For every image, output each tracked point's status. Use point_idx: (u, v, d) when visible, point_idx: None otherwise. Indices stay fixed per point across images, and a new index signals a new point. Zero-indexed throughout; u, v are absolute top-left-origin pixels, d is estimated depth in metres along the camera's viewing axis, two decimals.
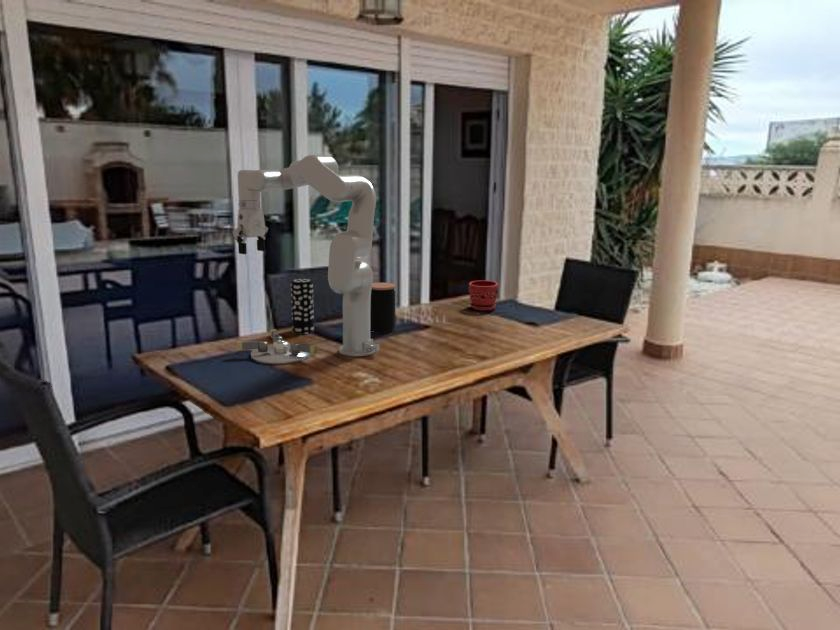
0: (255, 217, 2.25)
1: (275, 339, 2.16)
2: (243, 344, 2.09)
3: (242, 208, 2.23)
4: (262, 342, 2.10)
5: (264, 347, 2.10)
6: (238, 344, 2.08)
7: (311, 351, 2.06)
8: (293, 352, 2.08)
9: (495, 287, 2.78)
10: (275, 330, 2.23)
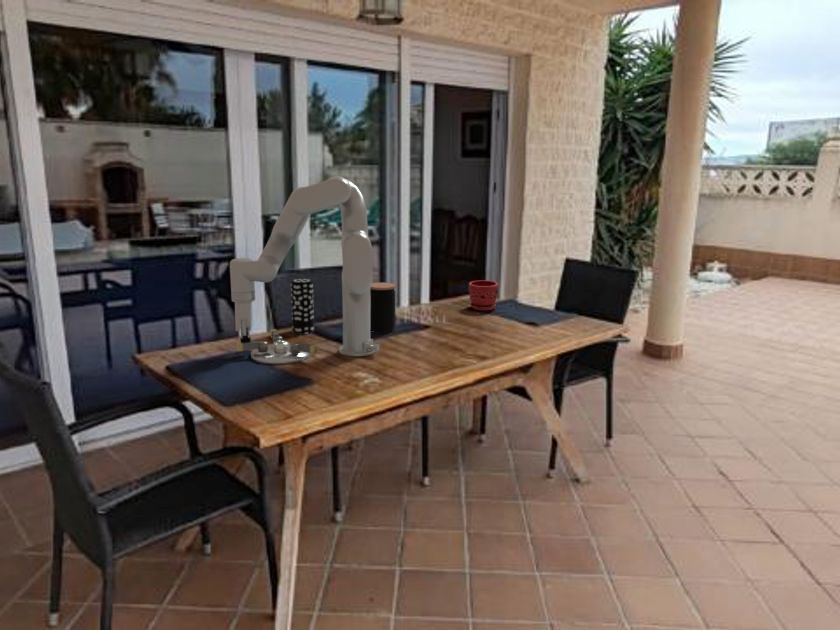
0: None
1: (275, 339, 2.16)
2: (243, 345, 2.08)
3: None
4: (262, 342, 2.10)
5: (265, 347, 2.10)
6: (239, 345, 2.07)
7: (311, 351, 2.06)
8: (293, 352, 2.08)
9: (495, 287, 2.78)
10: (275, 330, 2.23)
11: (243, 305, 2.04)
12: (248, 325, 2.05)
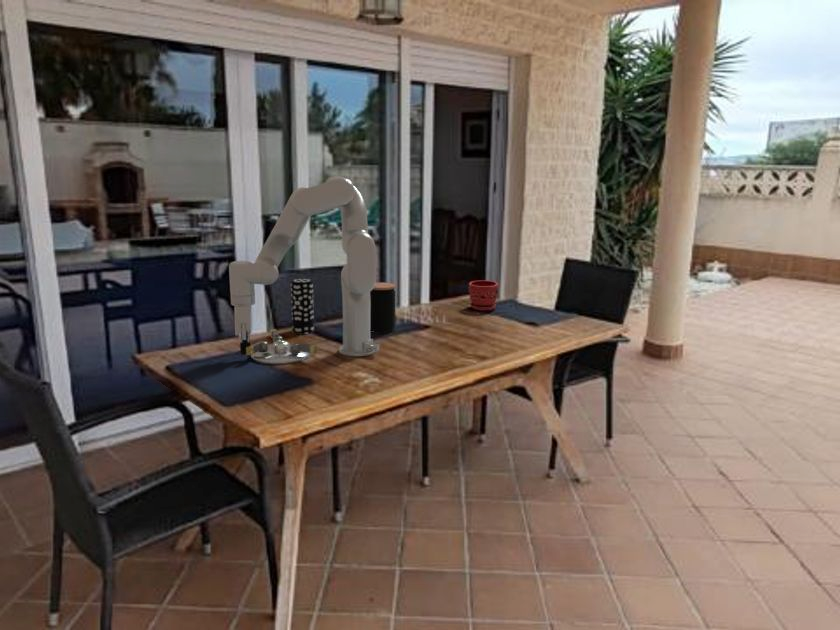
0: None
1: (275, 339, 2.16)
2: (253, 348, 2.05)
3: None
4: (263, 342, 2.10)
5: (267, 346, 2.11)
6: (251, 349, 2.03)
7: (311, 351, 2.06)
8: (293, 352, 2.08)
9: (495, 287, 2.78)
10: (275, 330, 2.23)
11: (243, 309, 1.99)
12: (248, 329, 2.00)
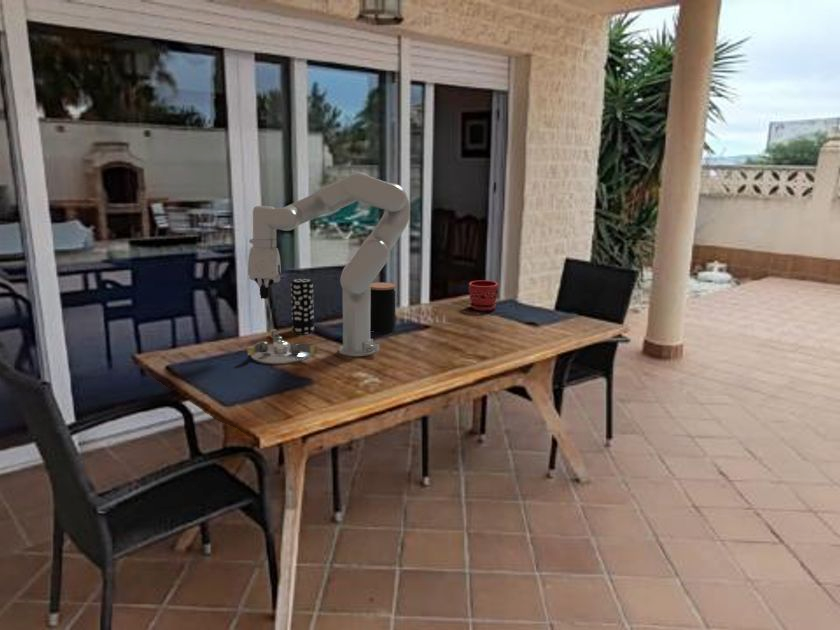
0: (259, 257, 2.06)
1: (275, 339, 2.16)
2: (254, 348, 2.05)
3: None
4: (263, 342, 2.10)
5: (267, 346, 2.11)
6: (253, 349, 2.03)
7: (311, 351, 2.06)
8: (293, 352, 2.08)
9: (495, 287, 2.78)
10: (275, 330, 2.23)
11: (277, 251, 2.08)
12: (280, 271, 2.10)
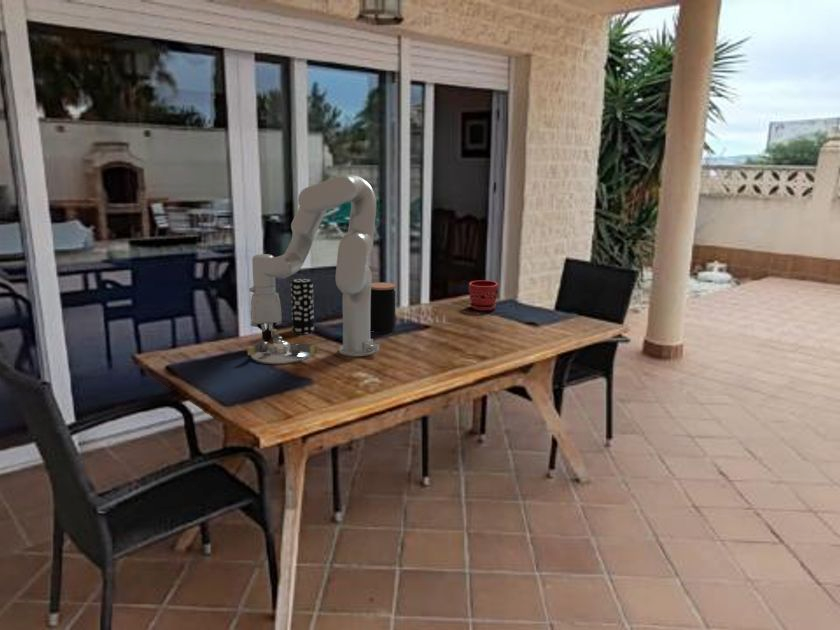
0: (265, 304, 2.16)
1: (275, 339, 2.16)
2: (254, 348, 2.05)
3: None
4: (263, 342, 2.10)
5: (267, 346, 2.11)
6: (253, 349, 2.03)
7: (311, 351, 2.06)
8: (293, 352, 2.08)
9: (495, 287, 2.78)
10: (276, 330, 2.23)
11: None
12: None
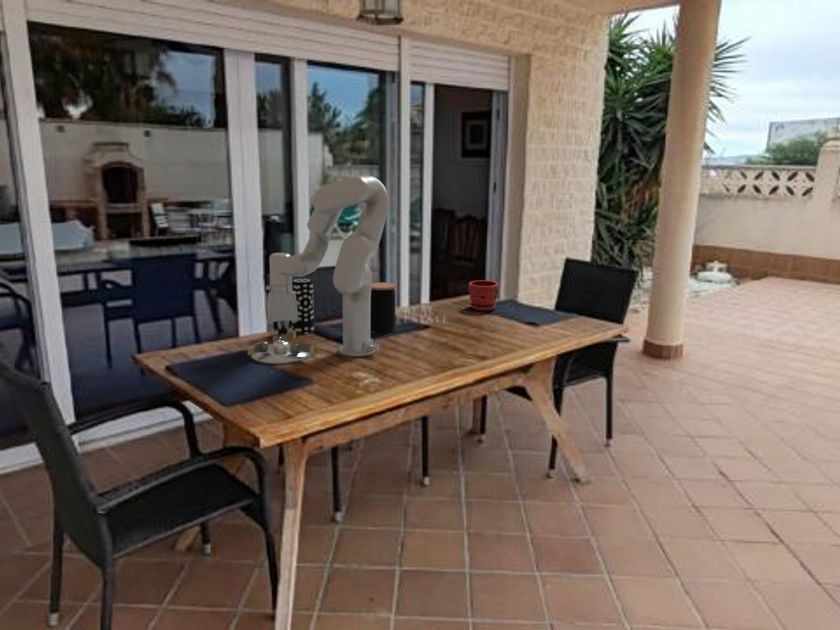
0: (282, 302, 2.18)
1: None
2: (254, 348, 2.05)
3: None
4: (263, 342, 2.10)
5: (267, 346, 2.11)
6: (253, 349, 2.03)
7: (311, 351, 2.06)
8: (293, 352, 2.08)
9: (495, 287, 2.78)
10: (292, 331, 2.22)
11: None
12: None
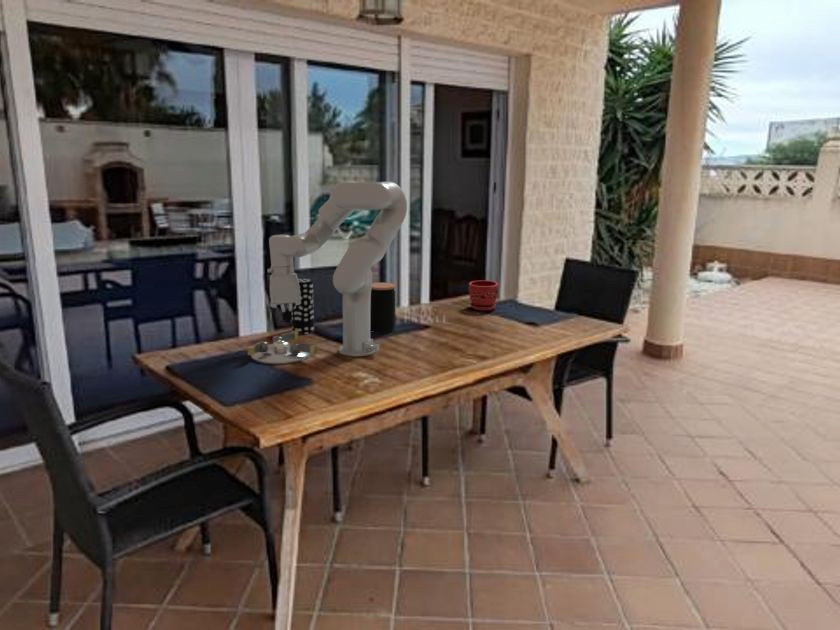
0: (284, 284, 2.16)
1: None
2: (254, 348, 2.05)
3: (272, 274, 2.17)
4: (263, 342, 2.10)
5: (267, 346, 2.11)
6: (253, 349, 2.03)
7: (311, 351, 2.06)
8: (293, 352, 2.08)
9: (495, 287, 2.78)
10: (294, 332, 2.22)
11: None
12: None
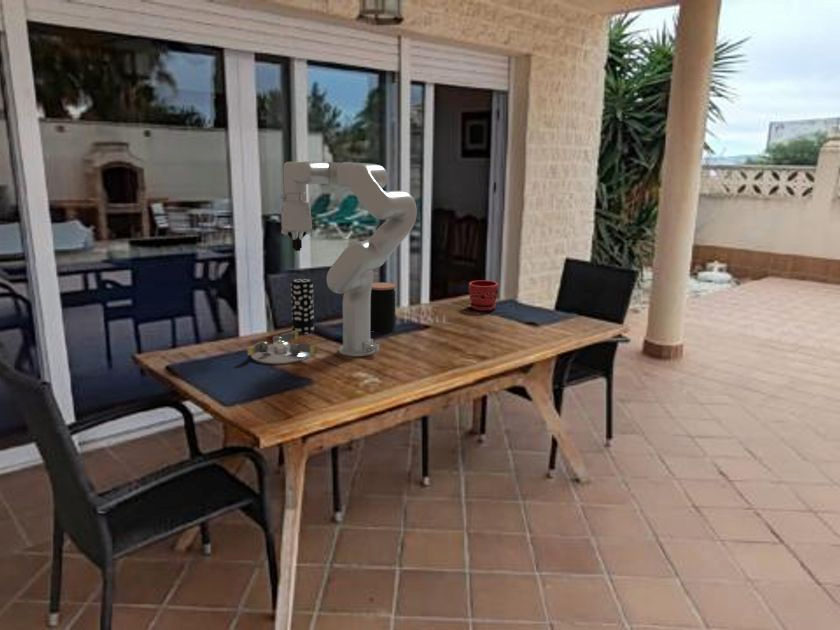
0: (296, 211, 2.17)
1: None
2: (254, 348, 2.05)
3: None
4: (263, 342, 2.10)
5: (267, 346, 2.11)
6: (253, 349, 2.03)
7: (311, 351, 2.06)
8: (293, 352, 2.08)
9: (495, 287, 2.78)
10: (294, 332, 2.22)
11: None
12: None
